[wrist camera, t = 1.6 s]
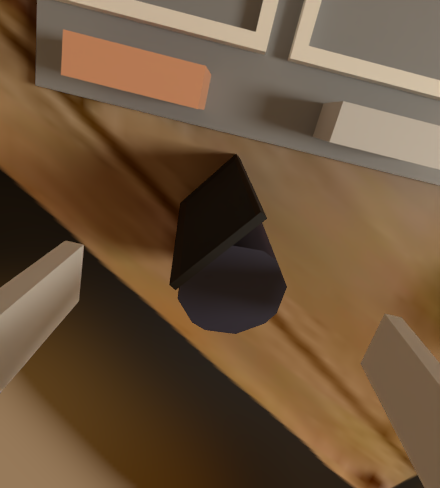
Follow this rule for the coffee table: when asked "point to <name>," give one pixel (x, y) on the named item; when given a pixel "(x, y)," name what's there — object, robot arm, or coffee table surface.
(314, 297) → the coffee table surface
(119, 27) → the dock board
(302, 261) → the coffee table surface
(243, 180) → the speaker
